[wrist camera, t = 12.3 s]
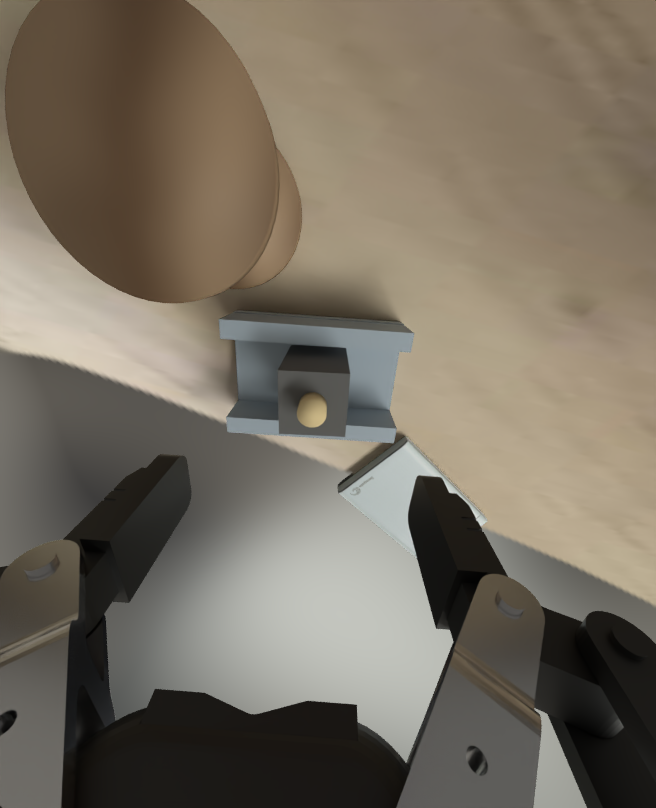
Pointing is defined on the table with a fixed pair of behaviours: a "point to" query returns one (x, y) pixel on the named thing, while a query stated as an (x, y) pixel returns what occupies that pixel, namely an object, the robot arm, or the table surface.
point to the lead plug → (313, 391)
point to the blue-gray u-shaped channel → (275, 332)
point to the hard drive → (395, 489)
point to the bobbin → (149, 148)
